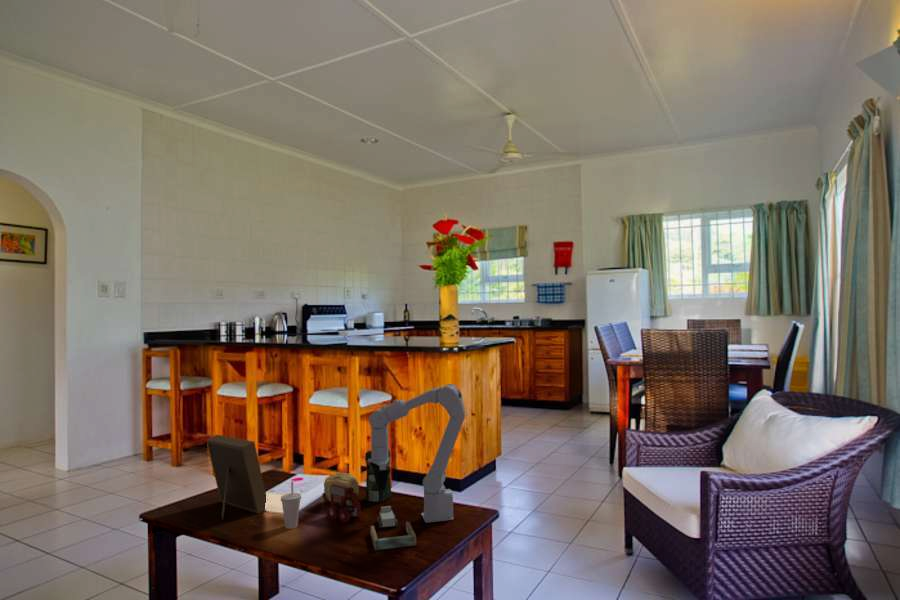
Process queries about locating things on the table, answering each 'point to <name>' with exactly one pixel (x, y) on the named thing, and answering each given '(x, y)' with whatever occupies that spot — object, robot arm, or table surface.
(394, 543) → the bay
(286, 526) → the smoothie
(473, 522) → the table surface
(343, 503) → the red toy race car
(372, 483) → the coffee jar
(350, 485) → the sculpture
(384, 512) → the grey knobbed block
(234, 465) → the photo frame
